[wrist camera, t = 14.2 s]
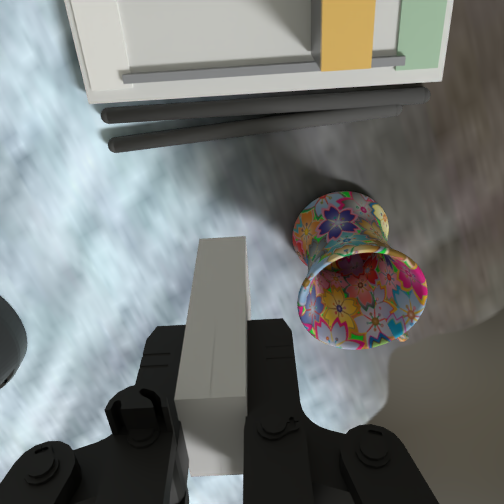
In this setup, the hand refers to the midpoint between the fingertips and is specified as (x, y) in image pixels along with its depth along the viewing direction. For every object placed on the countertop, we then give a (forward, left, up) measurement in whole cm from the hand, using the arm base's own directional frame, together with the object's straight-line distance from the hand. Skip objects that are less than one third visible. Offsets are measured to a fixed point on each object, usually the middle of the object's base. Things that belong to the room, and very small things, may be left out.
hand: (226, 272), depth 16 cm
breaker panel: (+2, +5, -24) cm, 25 cm away
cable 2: (+1, -3, -24) cm, 25 cm away
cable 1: (+2, -1, -24) cm, 25 cm away
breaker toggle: (+7, +5, -23) cm, 24 cm away
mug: (+9, -14, -25) cm, 30 cm away
